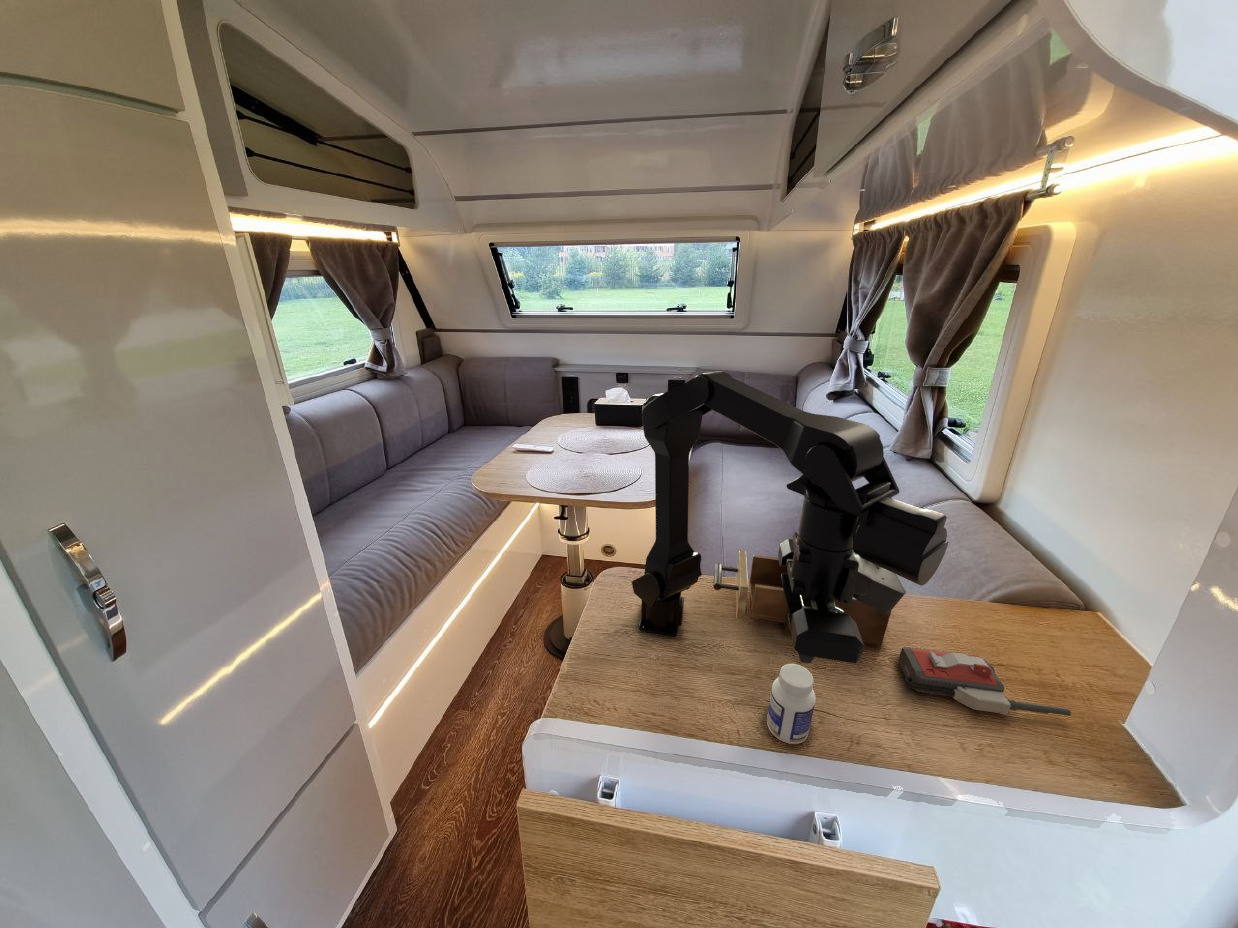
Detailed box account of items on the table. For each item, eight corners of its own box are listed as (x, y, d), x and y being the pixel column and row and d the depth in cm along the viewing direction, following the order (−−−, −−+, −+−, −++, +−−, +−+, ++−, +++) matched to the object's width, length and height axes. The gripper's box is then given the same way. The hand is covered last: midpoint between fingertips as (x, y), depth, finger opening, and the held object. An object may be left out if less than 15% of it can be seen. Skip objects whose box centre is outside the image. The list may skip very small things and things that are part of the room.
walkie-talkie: (909, 704, 66) (1072, 726, 63) (917, 680, 64) (1084, 702, 61) (887, 657, 74) (1030, 675, 71) (894, 634, 72) (1040, 652, 69)
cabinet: (785, 633, 78) (793, 591, 75) (778, 588, 90) (784, 549, 87) (880, 648, 76) (893, 604, 72) (860, 599, 87) (870, 559, 84)
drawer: (710, 615, 81) (714, 582, 78) (712, 577, 91) (715, 546, 89) (820, 632, 78) (827, 598, 75) (809, 590, 88) (816, 559, 85)
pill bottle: (809, 718, 63) (820, 667, 60) (807, 751, 59) (819, 698, 56) (768, 704, 65) (777, 654, 62) (763, 735, 61) (772, 683, 58)
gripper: (942, 602, 41) (900, 729, 47) (880, 507, 58) (855, 610, 64) (808, 584, 44) (784, 708, 49) (786, 498, 61) (770, 598, 66)
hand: (802, 649), depth 57 cm, fingers open, 4 cm apart
